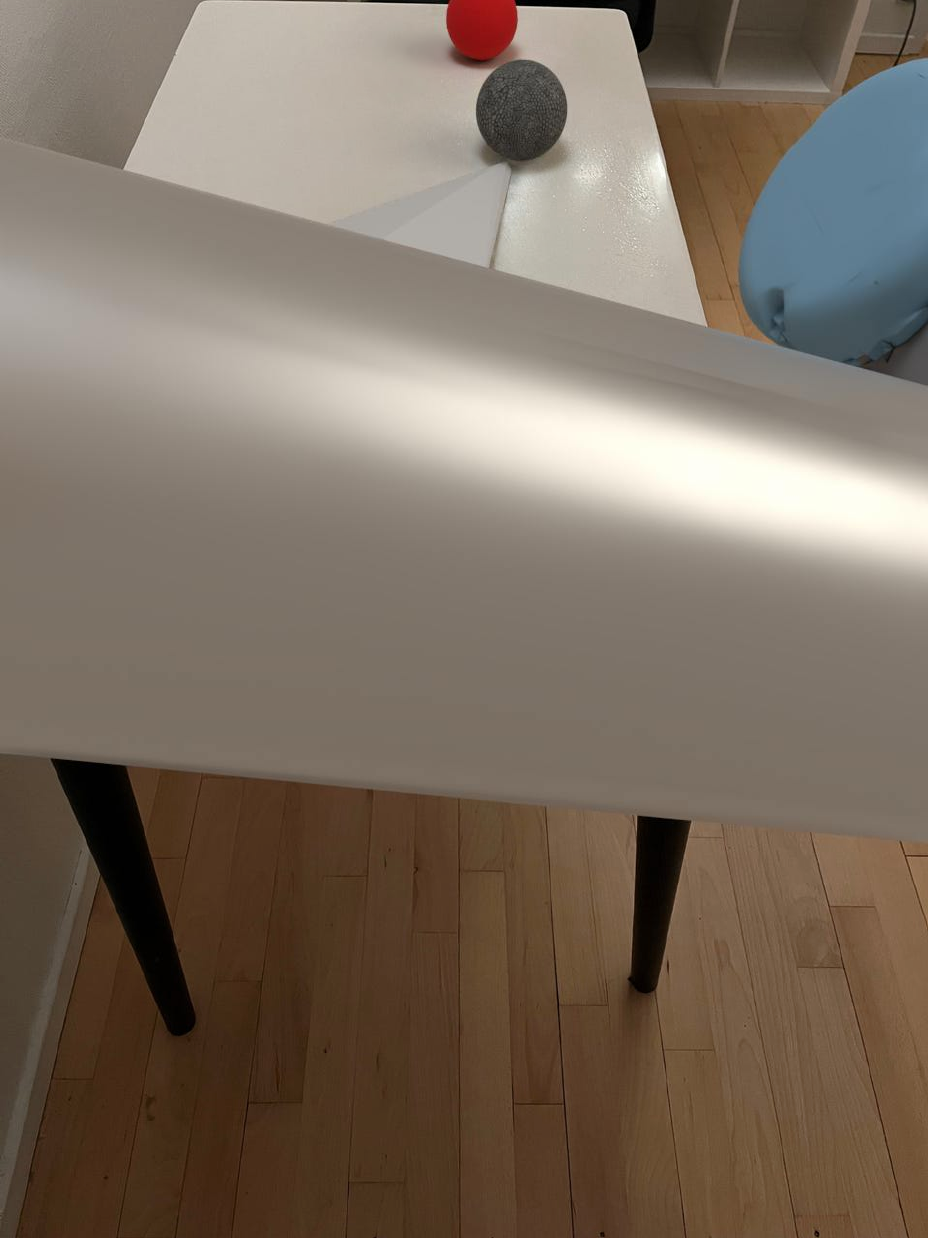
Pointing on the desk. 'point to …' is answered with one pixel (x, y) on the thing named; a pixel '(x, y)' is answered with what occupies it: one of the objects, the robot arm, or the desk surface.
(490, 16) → the ornament
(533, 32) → the desk surface
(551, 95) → the decorative ball
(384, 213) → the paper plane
